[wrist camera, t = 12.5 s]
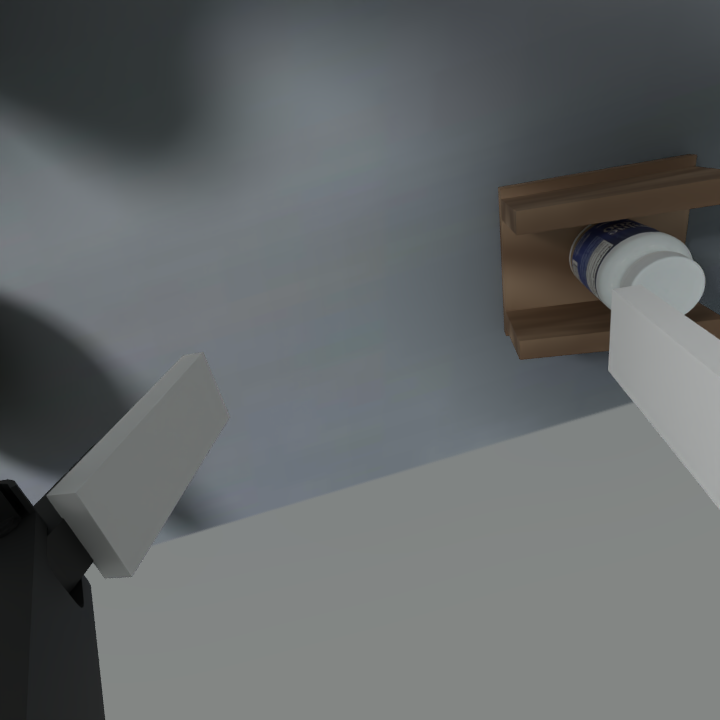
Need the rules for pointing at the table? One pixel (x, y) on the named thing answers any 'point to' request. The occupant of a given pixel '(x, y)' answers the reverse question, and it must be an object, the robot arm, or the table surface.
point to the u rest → (560, 228)
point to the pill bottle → (636, 263)
